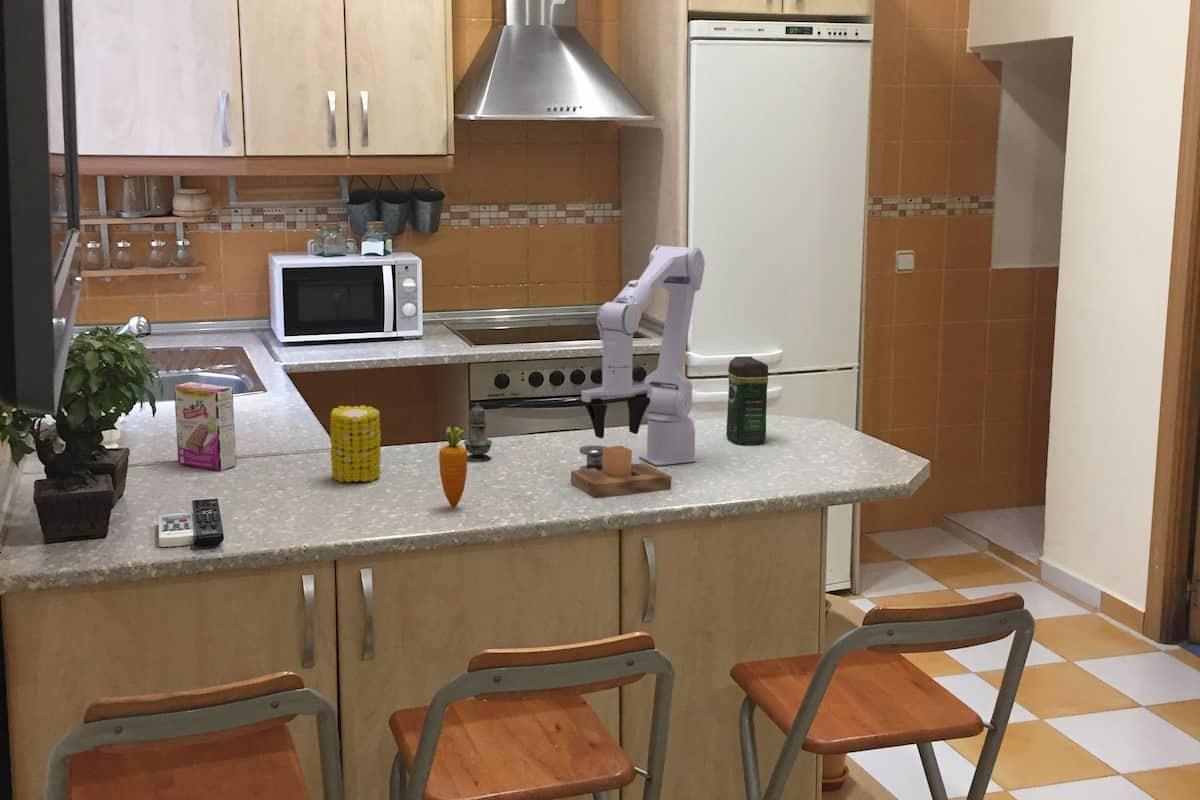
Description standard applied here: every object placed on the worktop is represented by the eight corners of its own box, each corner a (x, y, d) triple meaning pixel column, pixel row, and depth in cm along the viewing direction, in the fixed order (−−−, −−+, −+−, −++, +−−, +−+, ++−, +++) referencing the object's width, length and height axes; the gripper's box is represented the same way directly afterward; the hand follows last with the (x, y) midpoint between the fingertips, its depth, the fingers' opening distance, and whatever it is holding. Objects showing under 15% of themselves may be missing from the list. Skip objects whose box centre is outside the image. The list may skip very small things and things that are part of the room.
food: (377, 478, 261) (377, 494, 251) (318, 467, 258) (316, 483, 249) (393, 406, 258) (394, 419, 248) (333, 394, 255) (332, 407, 245)
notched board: (645, 475, 260) (645, 462, 259) (671, 488, 250) (671, 476, 249) (570, 483, 253) (570, 470, 252) (594, 497, 243) (594, 484, 243)
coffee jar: (770, 444, 286) (773, 361, 282) (735, 446, 284) (738, 362, 280) (755, 435, 295) (758, 353, 291) (722, 436, 293) (724, 354, 290)
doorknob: (601, 466, 266) (602, 444, 265) (614, 473, 261) (614, 450, 260) (574, 469, 263) (574, 446, 263) (587, 476, 258) (587, 453, 257)
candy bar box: (176, 465, 263) (172, 385, 260) (194, 460, 267) (189, 381, 264) (220, 472, 258) (216, 390, 255) (237, 466, 263) (233, 386, 259)
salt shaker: (487, 463, 268) (487, 405, 265) (460, 461, 269) (459, 404, 266) (495, 456, 273) (495, 399, 271) (468, 454, 274) (468, 398, 272)
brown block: (619, 480, 256) (620, 445, 254) (631, 485, 252) (631, 449, 251) (602, 483, 254) (602, 447, 252) (613, 487, 250) (614, 452, 249)
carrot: (440, 503, 238) (439, 423, 235) (467, 503, 239) (467, 423, 236) (439, 511, 233) (438, 429, 230) (467, 511, 234) (466, 429, 231)
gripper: (639, 359, 257) (638, 426, 259) (573, 365, 250) (573, 434, 252) (658, 364, 251) (657, 434, 253) (591, 371, 244) (591, 442, 246)
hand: (616, 434), depth 253 cm, fingers open, 7 cm apart
